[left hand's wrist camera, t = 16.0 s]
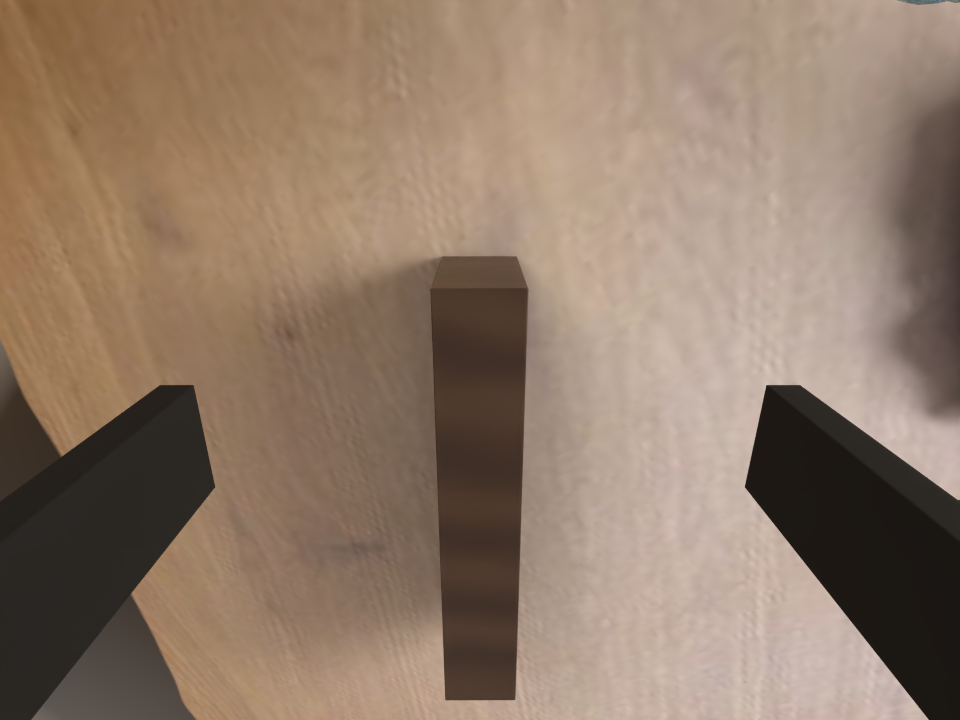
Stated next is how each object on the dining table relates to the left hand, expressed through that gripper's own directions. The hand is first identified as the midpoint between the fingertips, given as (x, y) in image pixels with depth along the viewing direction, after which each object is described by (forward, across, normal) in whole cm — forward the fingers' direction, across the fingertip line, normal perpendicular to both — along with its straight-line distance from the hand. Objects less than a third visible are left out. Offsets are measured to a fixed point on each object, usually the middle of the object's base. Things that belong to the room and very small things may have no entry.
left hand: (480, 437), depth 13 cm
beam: (+25, 0, -15) cm, 29 cm away
